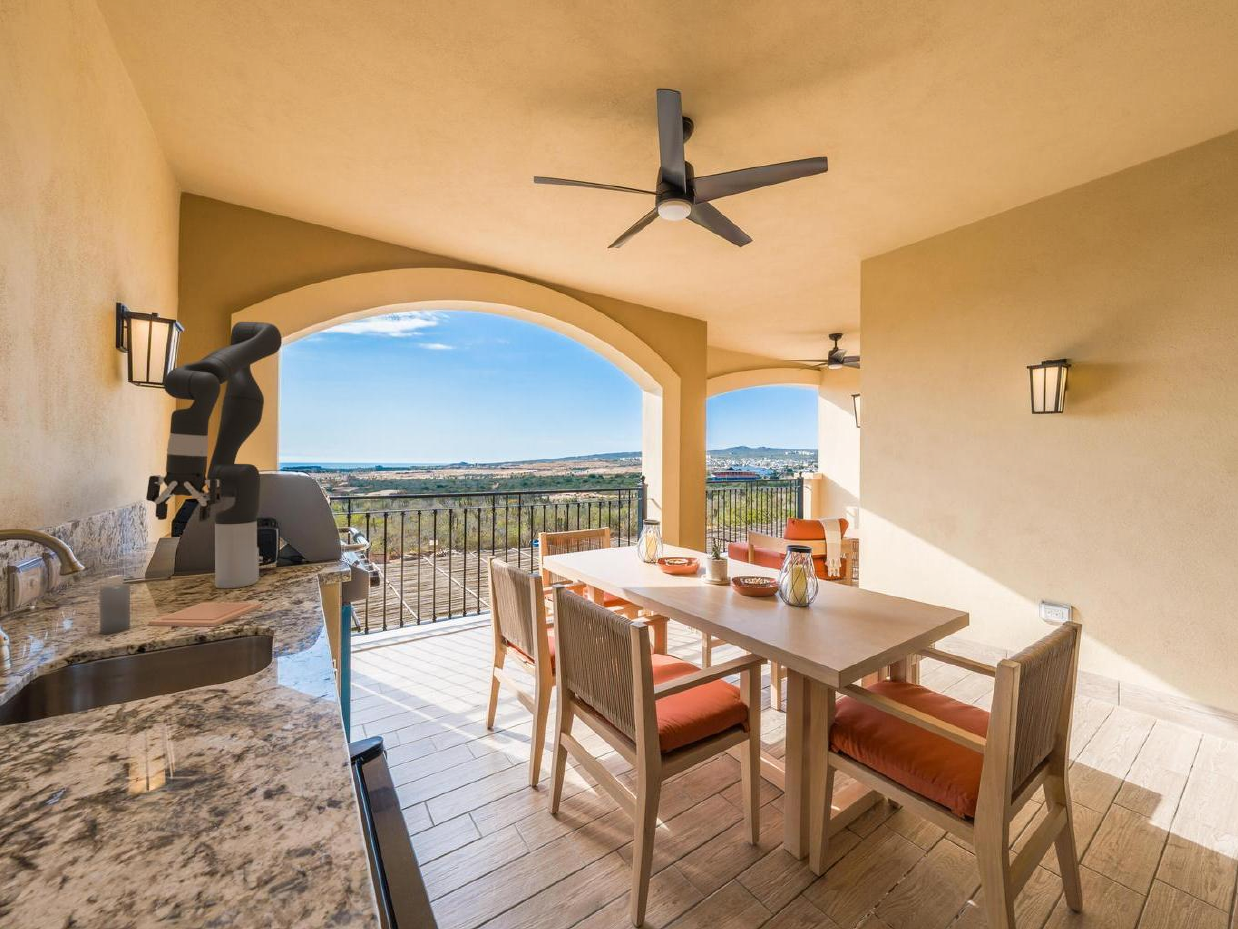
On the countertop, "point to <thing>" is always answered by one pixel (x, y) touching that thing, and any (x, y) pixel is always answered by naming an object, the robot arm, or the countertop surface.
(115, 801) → the countertop surface
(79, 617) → the countertop surface
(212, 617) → the coaster
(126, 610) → the grey tall block
